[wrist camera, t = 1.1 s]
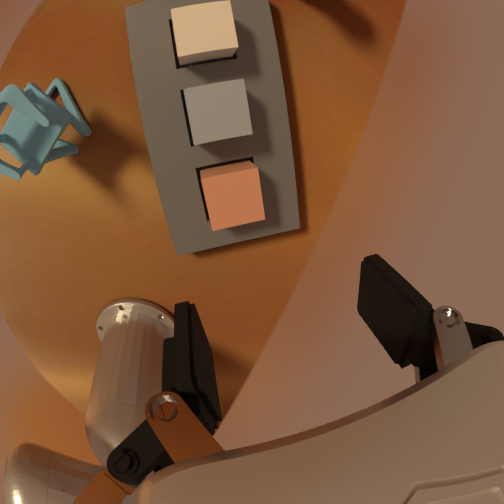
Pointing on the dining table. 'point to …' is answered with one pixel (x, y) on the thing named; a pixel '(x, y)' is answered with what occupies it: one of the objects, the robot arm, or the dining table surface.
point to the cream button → (204, 31)
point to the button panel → (222, 151)
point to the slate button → (218, 111)
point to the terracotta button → (233, 194)
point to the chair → (38, 127)
